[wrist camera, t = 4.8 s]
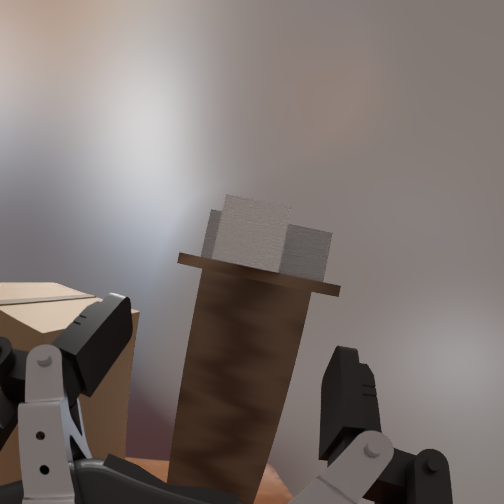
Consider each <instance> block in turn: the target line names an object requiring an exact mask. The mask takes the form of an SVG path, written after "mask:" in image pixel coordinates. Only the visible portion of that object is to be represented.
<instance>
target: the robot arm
mask: <svg viewBox="0 0 504 504" xmlns="http://www.w3.org/2000/svg"><path fill="white" fill-rule="evenodd" d="M132 332H133V322H132V313H131V302H130V299H129V298H128V297H126V296H123V295H119V294H116V293H109V294H108V295H107V296H106V297H105V298H104V299H103V300H102V301H101V302H100V301H96V302H94V303H93V304H91V305H89V306H87V307H86V308H85V309H84V310H83V311H82V312H81V313H80V314H79V316H77V317H76V318H75V319H74V320H73V322H71V323H70V324H69V326H68V327H67V328H66V329H65V330H64V331H63V332H62V333H61V334H60V335H59V336H58V337H57V338H56V339H55V341H54V342H53V343H52V344H51V345H48V344H44V345H39V346H37V347H35V348H33V349H32V350H31V351H30V352H28V351H22V350H17V349H13V347H12V344H11V342H10V341H9V339H7V338H5V337H2V336H0V451H1V450H2V448H3V446H4V445H5V443H6V441H7V440H8V438H9V436H10V435H11V433H12V432H13V430H14V428H15V427H16V425H17V424H18V434H19V452H20V463H21V473H22V480H19V481H15V482H12V483H9V484H5V485H2V486H0V504H242V503H240V502H238V497H239V495H237V494H232V493H227V492H223V491H219V490H214V489H210V488H207V487H194V486H180V485H171V484H167V483H165V482H163V481H162V480H160V479H158V478H157V477H155V476H154V475H152V474H150V473H149V472H147V471H146V470H144V469H143V468H141V467H140V466H138V465H136V464H133V463H131V462H128V461H126V460H124V459H121V458H119V457H117V456H114V455H112V454H110V453H109V454H108V456H107V458H106V460H105V459H97V458H92V456H91V453H90V450H89V448H88V445H87V442H86V438H85V432H84V427H83V421H82V415H81V408H80V402H79V399H78V397H79V395H80V394H83V395H85V396H87V397H90V398H91V396H92V395H93V393H94V392H95V390H96V389H97V387H98V386H99V384H100V383H101V381H102V380H103V378H104V377H105V376H106V374H107V373H108V371H109V370H110V368H111V367H112V365H113V364H114V362H115V361H116V360H117V358H118V357H119V355H120V354H121V352H122V351H123V350H124V348H125V347H126V345H127V344H128V342H129V341H130V339H131V336H132ZM376 396H377V393H376V388H375V380H374V375H373V373H372V371H371V370H370V368H369V366H368V365H367V364H362V363H359V357H358V351H357V349H354V348H348V347H342V346H337V347H336V348H335V351H334V353H333V355H332V358H331V360H330V362H329V364H328V367H327V369H326V371H325V374H324V376H323V380H322V386H321V419H320V444H319V460H326V461H328V467H327V469H326V470H325V471H324V472H323V473H322V474H321V475H320V476H318V477H317V478H316V479H314V480H313V481H312V482H311V483H310V484H309V485H308V486H307V487H306V488H305V489H303V490H302V491H301V492H300V493H299V494H298V495H297V496H296V497H294V498H293V499H292V500H291V501H290V502H289V503H287V504H357V503H358V501H359V500H360V499H361V498H364V499H367V500H370V501H374V502H375V504H453V501H452V490H451V481H450V472H449V465H448V461H447V459H446V457H445V456H444V455H443V454H442V453H441V452H439V451H437V450H434V449H425V450H423V451H421V452H420V453H419V454H418V455H413V454H410V453H407V452H404V451H401V450H398V449H395V448H394V447H393V445H392V442H391V441H390V439H389V438H388V437H387V436H385V435H384V434H382V431H381V424H380V416H379V408H378V400H377V397H376Z"/></svg>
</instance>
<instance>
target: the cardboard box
mask: <svg viewBox="0 0 504 504" xmlns="http://www.w3.org/2000/svg"><path fill="white" fill-rule="evenodd" d="M96 301H100V302H101V301H102V299H99V298H96V296H94V295H91V294H85V293H82V292H79V291H76V290H73V289H70V288H68V287H65V286H62V285H60V284H57V283H0V336H2V337H5V338H7V339H9V341H10V342H11V344H12V347H13V349H17V350H22V351H28V352H30V351H31V350H32V349H33V348H35V347H37V346H39V345H44V344H48V345H51V344H52V343H53V342H54V341H55V339H56V338H57V337H58V336H59V335H60V334H61V333H62V332H63V331H64V330H65V329H66V328H67V327H68V326H69V324H70V323H71V322H73V320H74V319H75V318H76V317H77V316H79V314H80V313H81V312H82V311H83V310H84V309H85V308H86V307H87V306H89V305H91V304H93V303H94V302H96ZM131 313H132V322H133V332H132V336H131V339H130V341H129V342H128V344H127V345H126V347H125V348H124V350H123V351H122V352H121V354H120V355H119V357H118V358H117V360H116V361H115V362H114V364H113V365H112V367H111V368H110V370H109V371H108V373H107V374H106V376H105V377H104V378H103V380H102V381H101V383H100V384H99V386H98V387H97V389H96V390H95V392H94V393H93V395H92V396H91V398H90V397H87V396H85V395H83V394H80V395H79V397H78V399H79V402H80V408H81V415H82V421H83V427H84V432H85V438H86V442H87V445H88V448H89V450H90V453H91V456H92V458H97V459H105V460H106V458H107V456H108V454H109V453H110V454H112V455H114V456H117V457H119V458H121V459H124V460H125V443H126V426H127V412H128V399H129V390H130V380H131V370H132V362H133V355H134V347H135V340H136V332H137V325H138V319H139V313H140V311H136V310H133V309H131ZM19 480H22V473H21V463H20V452H19V434H18V424H17V425H16V427H15V428H14V430H13V432H12V433H11V435H10V436H9V438H8V440H7V441H6V443H5V445H4V446H3V448H2V450H1V451H0V486H2V485H5V484H9V483H12V482H15V481H19Z"/></svg>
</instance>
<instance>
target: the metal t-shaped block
mask: <svg viewBox="0 0 504 504" xmlns="http://www.w3.org/2000/svg"><path fill="white" fill-rule="evenodd" d="M290 211H291V206H288V205H282V204H277V203H271V202H267V201H261V200H256V199H250V198H244V197H239V196H233V195H228V194H226V197H225V201H224V205H223V210H222V211H217V210H211V212H210V217H209V221H208V226H207V230H206V235H205V239H204V244H203V248H202V253H201V257H203V258H208V259H212V260H217V261H222V262H226V263H231V264H236V265H241V266H245V267H250V268H255V269H260V270H265V271H269V272H274V273H279V274H284V275H289V276H294V277H299V278H304V279H309V280H314V281H319V282H323V279H324V273H325V269H326V264H327V259H328V253H329V248H330V243H331V237H332V233H330V232H325V231H320V230H316V229H310V228H306V227H300V226H296V225H291V224H289V219H290Z"/></svg>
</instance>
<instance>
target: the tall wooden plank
mask: <svg viewBox="0 0 504 504" xmlns="http://www.w3.org/2000/svg"><path fill="white" fill-rule="evenodd" d="M177 263H180V264H184V265H189V266H193V267H198V268H202V274H201V279H200V284H199V288H198V294H197V299H196V304H195V309H194V314H193V319H192V325H191V330H190V336H189V341H188V347H187V352H186V358H185V363H184V369H183V376H182V381H181V387H180V393H179V400H178V407H177V413H176V419H175V426H174V433H173V440H172V447H171V455H170V462H169V470H168V478H167V484H171V485H180V486H194V487H207V488H210V489H214V490H219V491H223V492H227V493H232V494H237V495H239V497H238V502H240V503H242V504H253V503H254V500H255V497H256V494H257V491H258V488H259V485H260V482H261V479H262V476H263V473H264V470H265V467H266V464H267V460H268V457H269V454H270V451H271V447H272V444H273V441H274V438H275V434H276V431H277V427H278V424H279V420H280V417H281V414H282V410H283V406H284V403H285V399H286V395H287V392H288V388H289V384H290V380H291V377H292V373H293V369H294V365H295V361H296V357H297V353H298V348H299V345H300V340H301V336H302V332H303V328H304V323H305V319H306V315H307V310H308V305H309V301H310V296H311V292H316V293H321V294H327V295H331V296H337V297H338V296H339V292H340V287H341V286H338V285H334V284H328V283H324V282H319V281H314V280H309V279H304V278H299V277H294V276H289V275H284V274H279V273H274V272H269V271H265V270H260V269H255V268H250V267H245V266H241V265H236V264H231V263H226V262H222V261H217V260H212V259H208V258H203V257H198V256H194V255H189V254H184V253H179V257H178V262H177Z"/></svg>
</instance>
